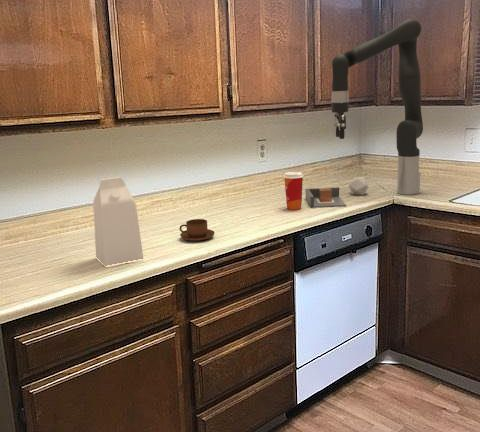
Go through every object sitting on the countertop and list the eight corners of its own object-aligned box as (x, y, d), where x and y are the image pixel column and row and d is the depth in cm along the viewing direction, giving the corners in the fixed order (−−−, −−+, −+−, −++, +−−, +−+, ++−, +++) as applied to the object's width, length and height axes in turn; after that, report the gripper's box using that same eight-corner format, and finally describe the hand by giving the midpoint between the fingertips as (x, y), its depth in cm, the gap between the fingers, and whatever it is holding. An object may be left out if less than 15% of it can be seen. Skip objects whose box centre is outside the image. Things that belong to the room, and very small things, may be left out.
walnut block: (318, 199, 239) (318, 188, 238) (330, 199, 239) (330, 187, 238) (320, 202, 234) (320, 190, 233) (331, 201, 234) (331, 190, 233)
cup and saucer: (184, 245, 184) (182, 227, 182) (177, 236, 195) (176, 219, 193) (218, 241, 187) (217, 223, 185) (210, 232, 198) (209, 216, 197)
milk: (132, 251, 179) (125, 173, 173) (143, 260, 169) (136, 178, 163) (96, 258, 174) (87, 178, 167) (105, 268, 164) (96, 183, 157)
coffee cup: (289, 205, 234) (288, 171, 230) (307, 207, 229) (306, 172, 226) (280, 209, 227) (279, 174, 223) (298, 211, 222) (298, 175, 219)
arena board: (338, 197, 245) (338, 187, 244) (346, 206, 228) (346, 195, 227) (305, 198, 245) (305, 188, 244) (310, 207, 228) (310, 197, 227)
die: (357, 198, 244) (370, 181, 243) (342, 187, 248) (355, 170, 246) (361, 201, 252) (374, 184, 250) (346, 190, 255) (359, 174, 254)
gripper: (328, 101, 250) (329, 136, 253) (334, 102, 236) (334, 139, 240) (345, 100, 250) (345, 135, 253) (351, 101, 236) (351, 139, 240)
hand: (340, 137), depth 247 cm, fingers open, 8 cm apart
